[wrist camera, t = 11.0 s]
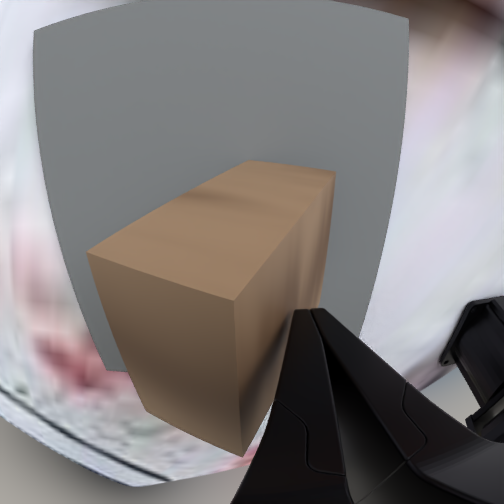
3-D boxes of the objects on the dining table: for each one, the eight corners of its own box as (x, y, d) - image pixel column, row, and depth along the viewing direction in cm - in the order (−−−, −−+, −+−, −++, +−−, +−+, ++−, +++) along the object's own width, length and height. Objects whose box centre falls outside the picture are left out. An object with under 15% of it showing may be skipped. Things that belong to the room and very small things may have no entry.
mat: (346, 359, 20) (348, 366, 19) (108, 363, 19) (106, 370, 18) (402, 20, 10) (408, 19, 9) (40, 31, 9) (33, 30, 8)
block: (319, 302, 14) (242, 457, 8) (246, 283, 15) (142, 409, 9) (336, 171, 11) (233, 300, 5) (245, 159, 12) (81, 250, 6)
